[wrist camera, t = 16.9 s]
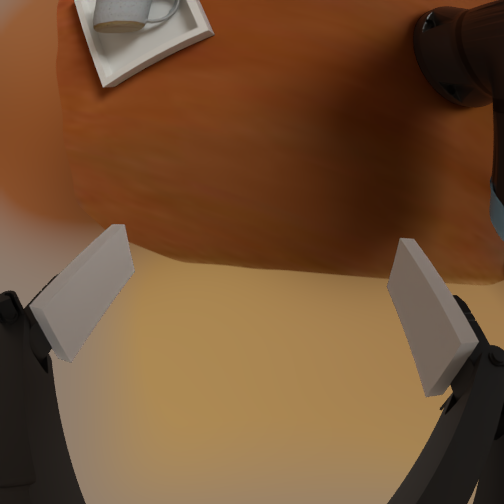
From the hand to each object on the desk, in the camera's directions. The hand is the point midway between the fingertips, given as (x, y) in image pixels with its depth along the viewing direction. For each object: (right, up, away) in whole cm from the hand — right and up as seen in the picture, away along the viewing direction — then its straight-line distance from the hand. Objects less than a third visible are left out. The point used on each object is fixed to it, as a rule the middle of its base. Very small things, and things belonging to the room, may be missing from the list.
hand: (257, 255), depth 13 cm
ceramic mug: (-15, +33, +13) cm, 38 cm away
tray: (-16, +34, +14) cm, 40 cm away
